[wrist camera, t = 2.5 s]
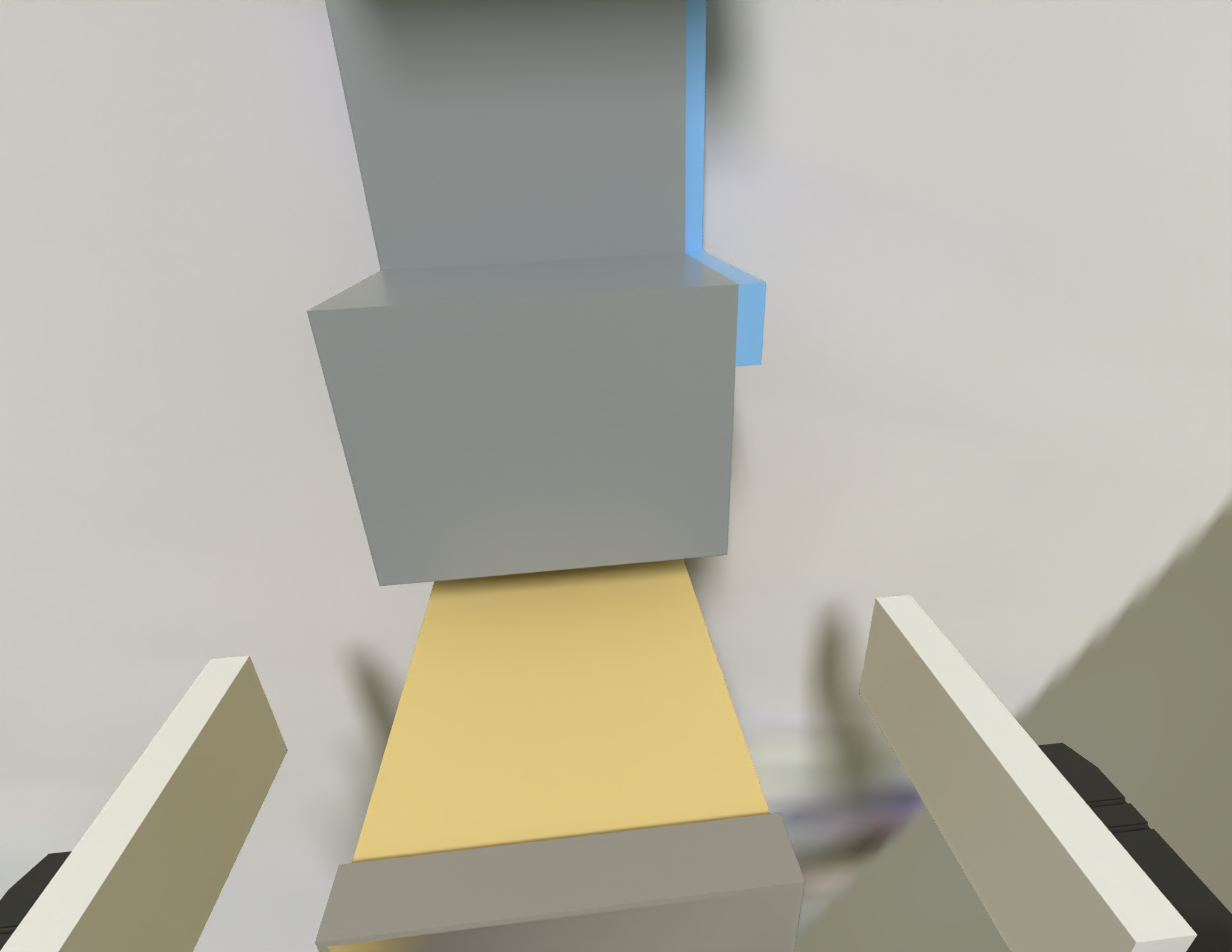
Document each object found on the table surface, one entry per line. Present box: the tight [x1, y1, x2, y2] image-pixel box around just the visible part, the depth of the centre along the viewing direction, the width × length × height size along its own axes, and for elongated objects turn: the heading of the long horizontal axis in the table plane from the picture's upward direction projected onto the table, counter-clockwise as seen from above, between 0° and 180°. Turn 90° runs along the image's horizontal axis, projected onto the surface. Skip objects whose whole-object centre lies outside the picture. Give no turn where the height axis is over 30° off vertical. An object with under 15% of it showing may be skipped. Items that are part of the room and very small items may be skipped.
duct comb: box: [307, 0, 766, 586], centre depth 12 cm, size 6×24×5 cm, turn 3°
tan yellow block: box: [315, 559, 805, 952], centre depth 12 cm, size 5×5×9 cm
